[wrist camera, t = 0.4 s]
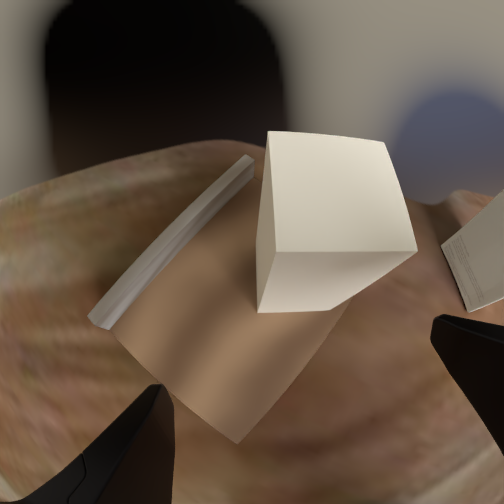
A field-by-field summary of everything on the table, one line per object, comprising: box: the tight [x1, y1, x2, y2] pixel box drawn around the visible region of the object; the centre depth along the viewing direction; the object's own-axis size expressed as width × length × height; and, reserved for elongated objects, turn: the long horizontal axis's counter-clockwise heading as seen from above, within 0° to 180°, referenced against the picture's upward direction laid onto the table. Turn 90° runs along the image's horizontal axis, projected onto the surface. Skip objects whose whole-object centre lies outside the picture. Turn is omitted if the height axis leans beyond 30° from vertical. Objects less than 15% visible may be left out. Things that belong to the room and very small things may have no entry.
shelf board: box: [88, 154, 354, 444], centre depth 20 cm, size 14×18×4 cm
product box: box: [256, 131, 418, 313], centre depth 16 cm, size 6×6×12 cm
